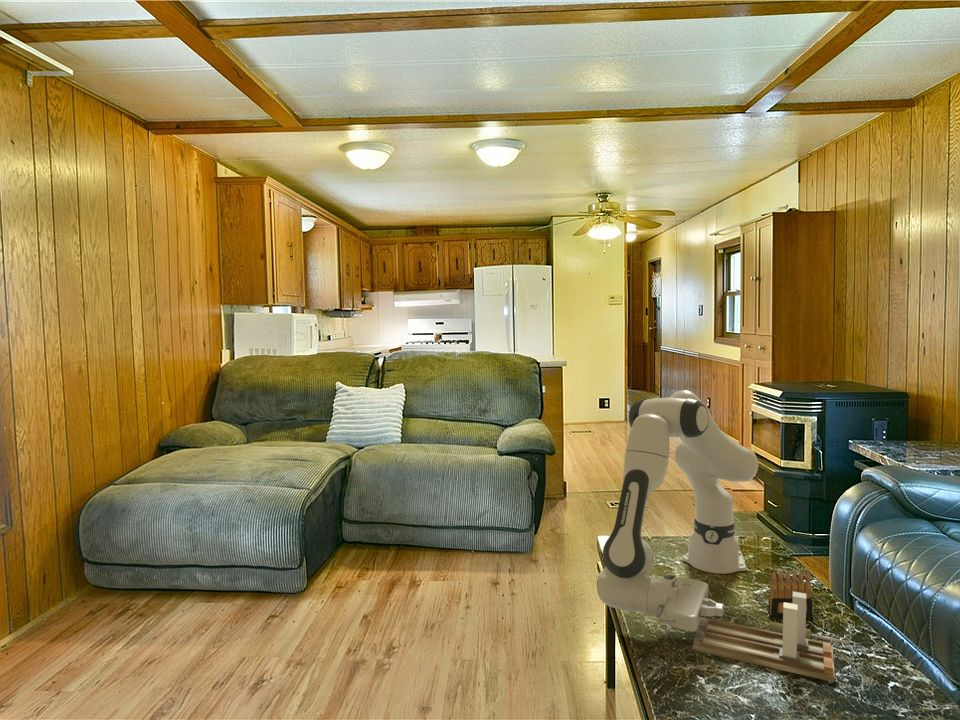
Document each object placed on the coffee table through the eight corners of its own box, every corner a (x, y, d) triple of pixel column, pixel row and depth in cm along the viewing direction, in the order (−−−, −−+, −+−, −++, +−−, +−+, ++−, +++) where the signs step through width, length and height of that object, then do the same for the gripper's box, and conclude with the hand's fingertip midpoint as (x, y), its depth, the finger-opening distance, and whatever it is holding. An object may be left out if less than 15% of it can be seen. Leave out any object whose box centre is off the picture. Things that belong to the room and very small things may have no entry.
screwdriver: (769, 634, 152) (769, 625, 152) (769, 628, 154) (769, 619, 154) (849, 651, 144) (849, 641, 144) (848, 644, 146) (849, 634, 146)
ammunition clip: (771, 617, 160) (772, 572, 159) (767, 614, 162) (768, 569, 161) (812, 617, 160) (813, 572, 159) (809, 614, 162) (810, 569, 161)
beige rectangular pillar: (779, 652, 141) (780, 600, 140) (799, 656, 139) (800, 604, 138) (779, 659, 137) (780, 607, 137) (799, 664, 136) (800, 611, 135)
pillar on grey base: (788, 639, 146) (790, 590, 145) (808, 643, 144) (809, 593, 143) (788, 646, 143) (789, 596, 142) (808, 650, 141) (809, 599, 140)
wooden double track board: (700, 625, 156) (700, 615, 156) (832, 652, 143) (832, 642, 143) (692, 649, 145) (692, 639, 145) (834, 682, 132) (835, 671, 131)
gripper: (654, 604, 141) (718, 617, 135) (670, 570, 159) (728, 580, 153) (654, 631, 142) (718, 645, 135) (670, 594, 160) (728, 604, 154)
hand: (723, 610), depth 144 cm, fingers closed
